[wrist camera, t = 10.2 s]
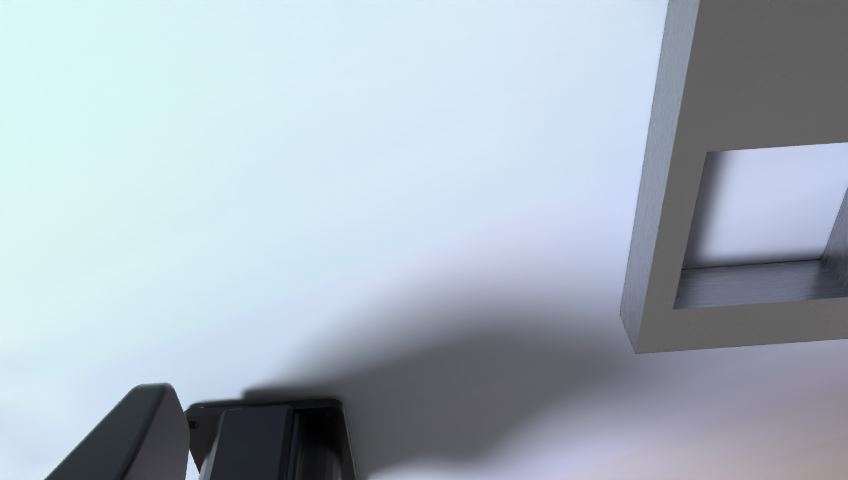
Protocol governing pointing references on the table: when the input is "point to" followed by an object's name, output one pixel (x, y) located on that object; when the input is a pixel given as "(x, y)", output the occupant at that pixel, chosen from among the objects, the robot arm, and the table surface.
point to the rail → (736, 130)
